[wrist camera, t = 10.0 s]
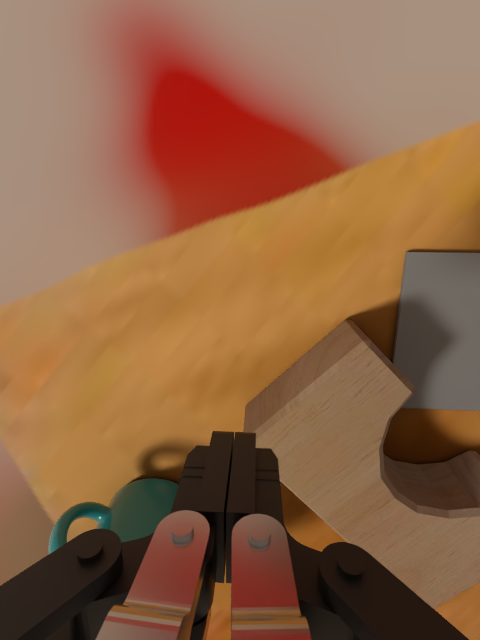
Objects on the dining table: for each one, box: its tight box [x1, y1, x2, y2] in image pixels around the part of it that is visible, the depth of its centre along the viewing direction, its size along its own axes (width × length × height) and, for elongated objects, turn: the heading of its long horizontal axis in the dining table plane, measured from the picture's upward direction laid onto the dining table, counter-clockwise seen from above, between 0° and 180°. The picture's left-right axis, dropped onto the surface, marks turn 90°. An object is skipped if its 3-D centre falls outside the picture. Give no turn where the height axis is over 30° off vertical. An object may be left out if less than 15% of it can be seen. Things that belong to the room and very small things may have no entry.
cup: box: [49, 478, 179, 554], centre depth 27 cm, size 9×12×11 cm
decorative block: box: [244, 320, 480, 609], centre depth 26 cm, size 11×6×20 cm
